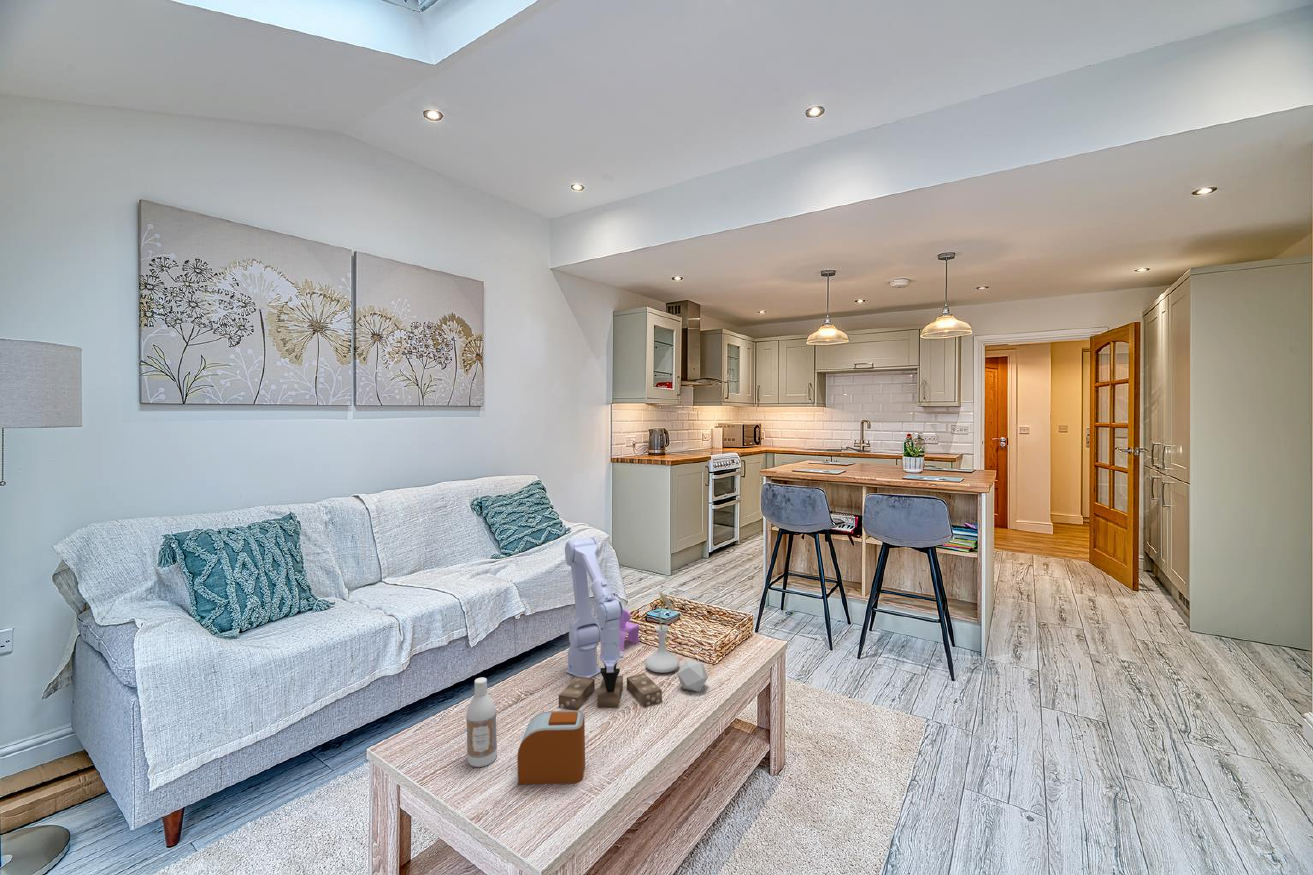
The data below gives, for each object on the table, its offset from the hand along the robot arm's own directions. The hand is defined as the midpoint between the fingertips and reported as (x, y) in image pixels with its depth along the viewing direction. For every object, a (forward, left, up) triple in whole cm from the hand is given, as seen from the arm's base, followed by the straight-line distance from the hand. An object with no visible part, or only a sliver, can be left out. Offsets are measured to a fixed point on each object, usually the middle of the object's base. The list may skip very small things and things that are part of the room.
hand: (610, 685), depth 164 cm
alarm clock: (+12, -34, -4) cm, 36 cm away
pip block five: (+7, +7, -4) cm, 11 cm away
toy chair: (-20, +31, -4) cm, 37 cm away
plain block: (0, 0, -4) cm, 4 cm away
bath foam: (-6, -41, -4) cm, 42 cm away
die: (+17, +19, -4) cm, 26 cm away
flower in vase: (+1, +25, -4) cm, 25 cm away
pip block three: (-8, -7, -4) cm, 11 cm away
